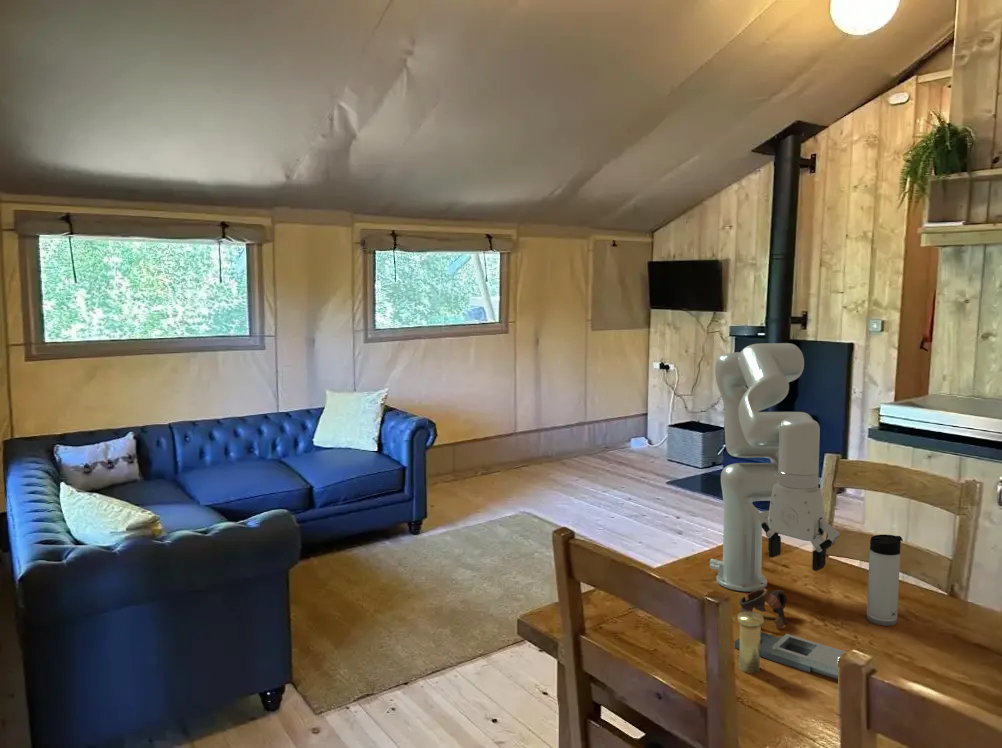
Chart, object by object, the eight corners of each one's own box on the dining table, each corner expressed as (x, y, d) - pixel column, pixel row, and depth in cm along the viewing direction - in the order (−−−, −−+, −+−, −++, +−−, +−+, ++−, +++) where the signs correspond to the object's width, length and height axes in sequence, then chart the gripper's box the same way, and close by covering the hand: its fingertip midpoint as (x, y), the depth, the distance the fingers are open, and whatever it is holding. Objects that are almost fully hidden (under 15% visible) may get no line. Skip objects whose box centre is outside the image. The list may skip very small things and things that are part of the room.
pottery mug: (774, 637, 168) (755, 603, 169) (745, 639, 176) (727, 606, 177) (805, 610, 174) (786, 577, 175) (775, 613, 182) (758, 582, 183)
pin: (732, 669, 154) (733, 617, 152) (742, 659, 157) (744, 609, 156) (755, 677, 150) (757, 624, 149) (766, 667, 154) (767, 616, 152)
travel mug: (902, 627, 170) (906, 541, 167) (870, 625, 171) (874, 540, 169) (893, 615, 176) (897, 532, 174) (863, 613, 177) (866, 531, 175)
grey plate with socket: (734, 648, 162) (734, 633, 162) (750, 634, 168) (750, 620, 168) (851, 686, 146) (852, 670, 146) (865, 670, 152) (865, 654, 152)
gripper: (749, 475, 156) (748, 555, 158) (828, 491, 142) (826, 579, 144) (770, 469, 161) (769, 547, 162) (849, 485, 147) (846, 570, 149)
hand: (795, 562), depth 153 cm, fingers open, 9 cm apart
